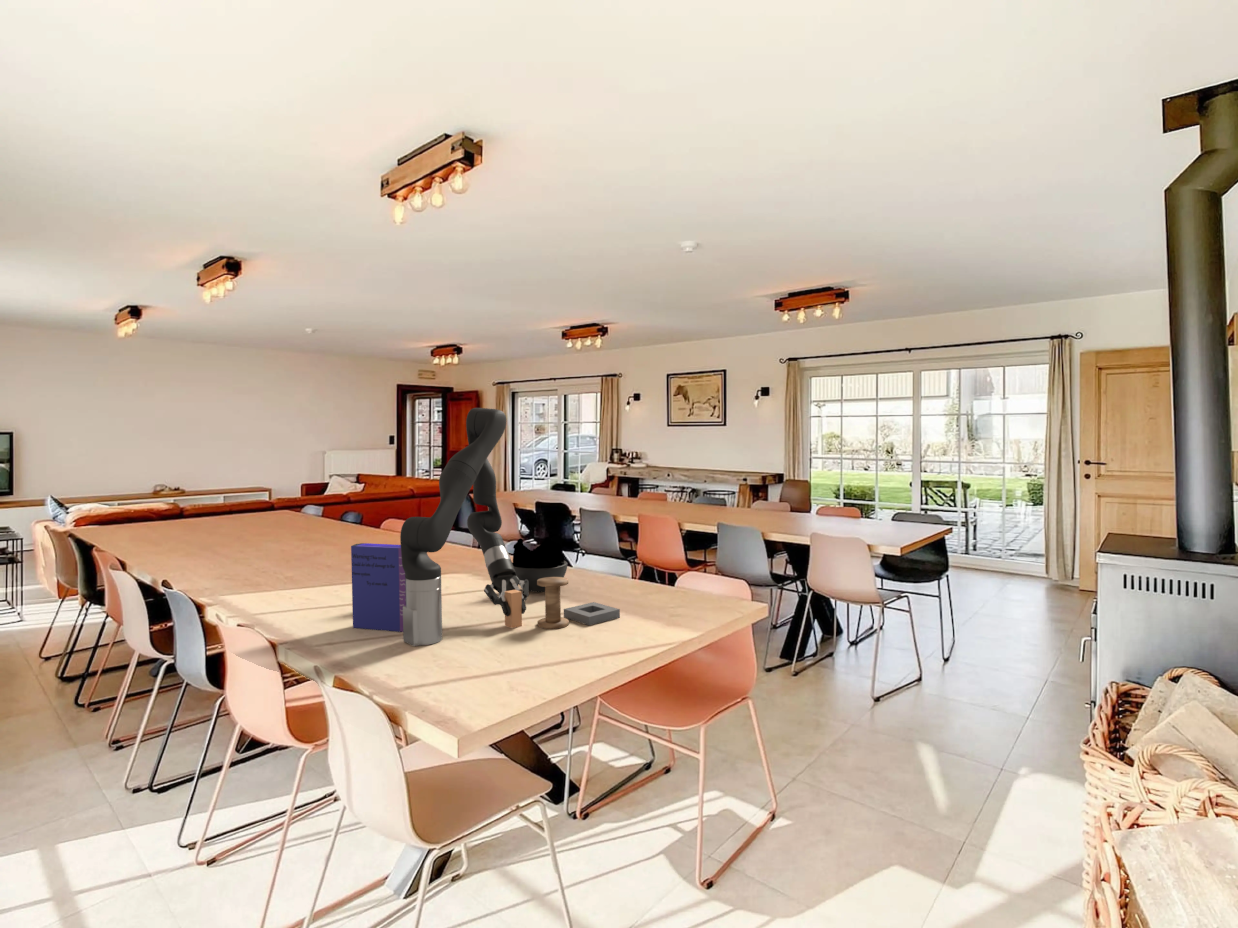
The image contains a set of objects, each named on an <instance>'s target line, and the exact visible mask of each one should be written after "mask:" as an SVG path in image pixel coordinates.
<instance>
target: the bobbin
mask: <svg viewBox="0 0 1238 928" xmlns="http://www.w3.org/2000/svg"><path fill="white" fill-rule="evenodd" d="M537 585H538V586H542V587H545V592H544V603H545V604H544V605H545V606H544V607H545V608H544V609H545V610H544V611H545V612H544V614H545V615H544V617H543V618H540V619H538V620H537V627H538V628H539V629H543V630H544V629H546V630H557V629H563V628H566V627H568V626H569V625H570V624H569V620H570V619H568V618H565V617H564V616H563V617H561V616H562V615H561V614H562V613H561V608H562V607H561V606H562V605H561V587H564V586H568V585H569V579H568V578H566V577H564V578H563V577H545V578H541V579H538V580H537Z"/></svg>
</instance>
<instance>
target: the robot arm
mask: <svg viewBox="0 0 1238 928" xmlns="http://www.w3.org/2000/svg"><path fill="white" fill-rule="evenodd" d="M465 419H466V420H465V427H466V428H465V429H466V437H467V442H468V443H467V444H468V445H467V446H465V447H464V448H462V449H461V450H459V451H458V452H456V453H455V454H453V456H452V457H451V458H449V460H448V462H447V463H446V465H445V467H444V468H443V469H442V471H441V474H440V476H439V479H438V487H439V488H438V489H439V496H440V500H439V501H440V502H439V504H438V506H437V508H436V510H435V511H434V513H433V514H432V515H431V516H430V517H428V516H427V517H426V516H411V517H410V516H409V518H407V519H406V520H404V522H403V523H402V526H401V529H400V534H399V535H400V536H399V537H400V538H399V539H400V545H401V556H402V566H403V569H404V571H405V586H406V606H403V632H402V634H403V638H402V639H403V642H404V643H406V644H409V645H410V646H411V647H417V646H428V645H433V644H437V643H439V642H441V641H442V640H443V611H442V608H443V603H442V602H443V601H442V599H443V597H442V567H441V565H440V564H439V563H438V562H435V561H434V560H433V559H431V558H430V556H429V555H428V553H436V552H439V551H440V550H441V549H442V548H443V547H444V545H445V544H446V542H447V540H448V538H449V535H450V533H451V531H452V528H453V525H454V524H455V521H456V519H457V515H458V514H459V512H460V509H461V508H462V505H463V503H464V501H465V499H466V498H467V497H468V496H467V495H468V493H469V492H470V491H471V489H472V491H473V492H472V499H473V502H474V504H475V505H479V506H486V507H487V508H488V510H482V511H474V512H471V513H470V514H469V515H468V517H467V520H466V524H467V528H468V531H469V532H470V534H471V535H472V537H473V538H474V539H475V540H476V543H478V545H479V547H480V548H481V551H482V555H483V558H484V563H485V568H486V569H487V573H488V576H489V578H490V581H491V584H486V585H485V587H484V589H483V591H484V594H486V596H487V597H488V599H489V600H490V602H492V604H493V605H494V606H496V605H499V606H500V607H501V610H502V612H503V615H504V616H505V615H506V616H509V615H510V613H511V611H510V608H509V605H508V603H507V602H506V596H505V591H510V590H518V591H521V590H522V591H521V592H522V615H523V614H525V613H526V611H527V605H526V602H525V601H526V600H527V599H528V597H529V595H530V594H529V592H530V591H529V581H528V580H527V579H525V581H522V580H519V578H518V577H517V576H516V572H515V569H514V567H513V564H512V562H513V560H512V558H511V555H510V554H509V552H508V551H509V550H508V549H507V547H506V545H505V542H504V538H503V536H502V535H501V534H499V533H498V531H500V530H501V528H502V524H503V521H502V516H501V513H500V510H499V505H498V502H497V481H496V480H497V479H496V474H495V471H494V468H493V467H492V465H491V463H490V460H489V459H488V457H489V456H490V455H491V452H492V451H493V450H494V448H495V447H496V446H497V444H498V443H499V441H500V440H501V438H502V436H503V434H504V432H505V430H506V428H507V427H506V426H507V415H506V413H505V412H504V411H503V410H501V409H497V408H489V407H488V408H487V407H486V408H485V407H474V408H471V409H469V411H468V413H467V415H466V418H465ZM495 591H496V592H497V593H498V594H497V593H496V592H495Z"/></svg>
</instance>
